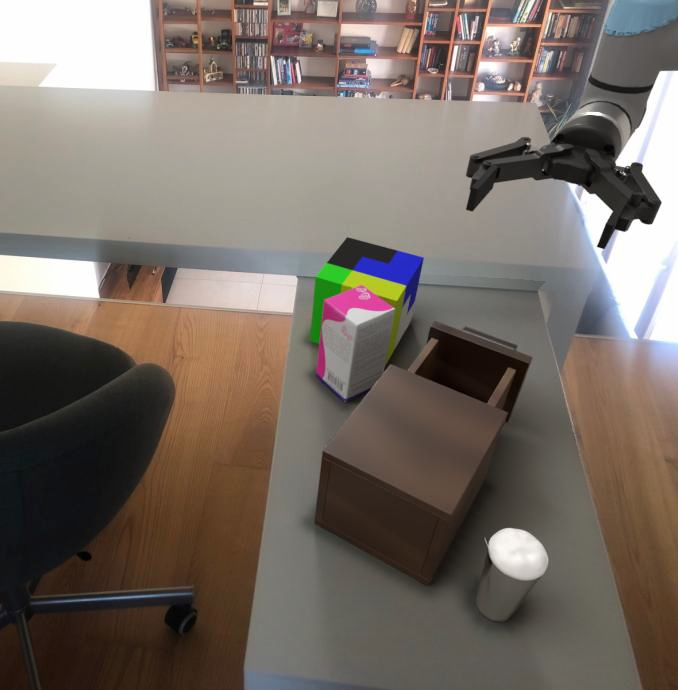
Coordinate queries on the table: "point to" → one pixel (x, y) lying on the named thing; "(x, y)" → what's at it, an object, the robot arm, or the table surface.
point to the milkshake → (509, 572)
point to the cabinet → (406, 470)
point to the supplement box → (353, 342)
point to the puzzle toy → (370, 282)
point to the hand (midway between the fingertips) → (535, 217)
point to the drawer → (473, 365)
